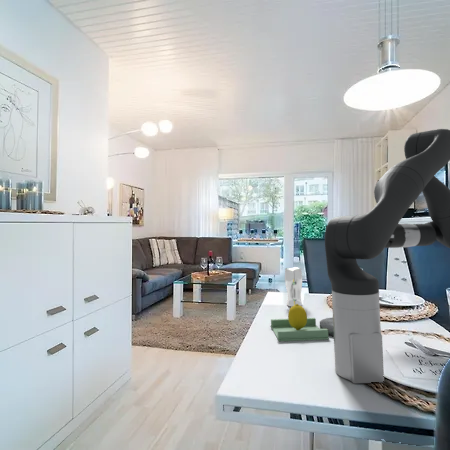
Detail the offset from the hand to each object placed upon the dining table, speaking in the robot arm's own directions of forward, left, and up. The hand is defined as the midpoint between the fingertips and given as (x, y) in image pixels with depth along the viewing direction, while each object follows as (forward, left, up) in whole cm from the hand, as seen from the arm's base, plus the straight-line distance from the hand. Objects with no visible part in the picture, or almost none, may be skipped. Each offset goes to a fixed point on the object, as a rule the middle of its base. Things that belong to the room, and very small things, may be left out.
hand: (349, 237), depth 95 cm
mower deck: (-3, +4, -28) cm, 28 cm away
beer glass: (+30, +11, -28) cm, 43 cm away
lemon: (-3, +18, -28) cm, 33 cm away
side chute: (-3, +18, -28) cm, 33 cm away
